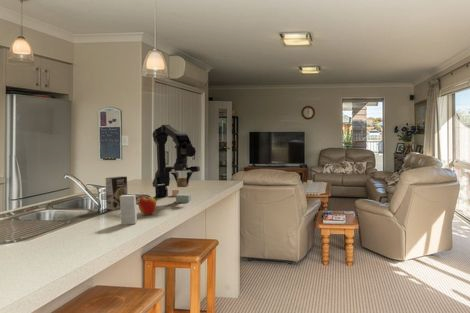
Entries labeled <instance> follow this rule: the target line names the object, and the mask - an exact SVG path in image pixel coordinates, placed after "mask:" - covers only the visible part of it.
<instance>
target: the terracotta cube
mask: <svg viewBox="0 0 470 313" xmlns="http://www.w3.org/2000/svg"><path fill="white" fill-rule="evenodd" d="M177 194H180V188H173V189H171V195H172V196H173V197H176V195H177Z"/></svg>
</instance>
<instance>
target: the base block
mask: <svg viewBox="0 0 470 313" xmlns="http://www.w3.org/2000/svg"><path fill="white" fill-rule="evenodd" d="M191 197H192V196H191V193H179V194H177V195H176V196H175V203H177V204H178V203H179V202H181V204H182V203H183V204H184V203H190V202H191V200H192V198H191Z"/></svg>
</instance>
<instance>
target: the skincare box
mask: <svg viewBox="0 0 470 313" xmlns="http://www.w3.org/2000/svg"><path fill="white" fill-rule="evenodd" d="M136 198H137V197H136V194H128V195H122V196H120V209H119V210H120V224H121V225H122V226H124V225H134V224H135V225H136V224H137V223H138V218H137V217H138V216H137V215H138V214H137V199H136Z"/></svg>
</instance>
